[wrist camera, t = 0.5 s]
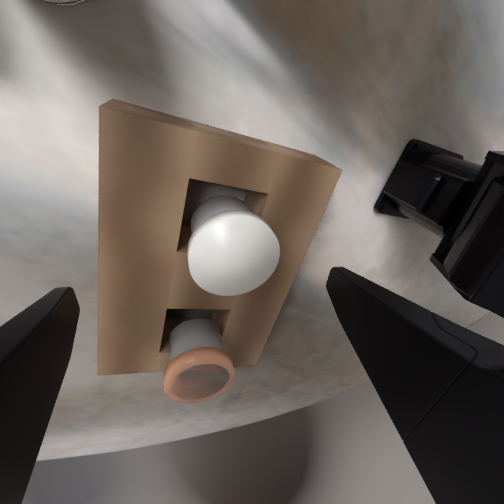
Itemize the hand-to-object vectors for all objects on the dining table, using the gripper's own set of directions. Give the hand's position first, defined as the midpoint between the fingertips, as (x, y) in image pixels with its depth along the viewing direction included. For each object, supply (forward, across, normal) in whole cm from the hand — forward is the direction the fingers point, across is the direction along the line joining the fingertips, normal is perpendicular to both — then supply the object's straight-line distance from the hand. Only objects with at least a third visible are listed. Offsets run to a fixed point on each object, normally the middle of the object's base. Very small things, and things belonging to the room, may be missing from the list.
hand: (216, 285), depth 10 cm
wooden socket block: (+12, 0, +6) cm, 14 cm away
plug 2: (+8, +1, +11) cm, 14 cm away
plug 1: (+8, -1, +2) cm, 8 cm away
